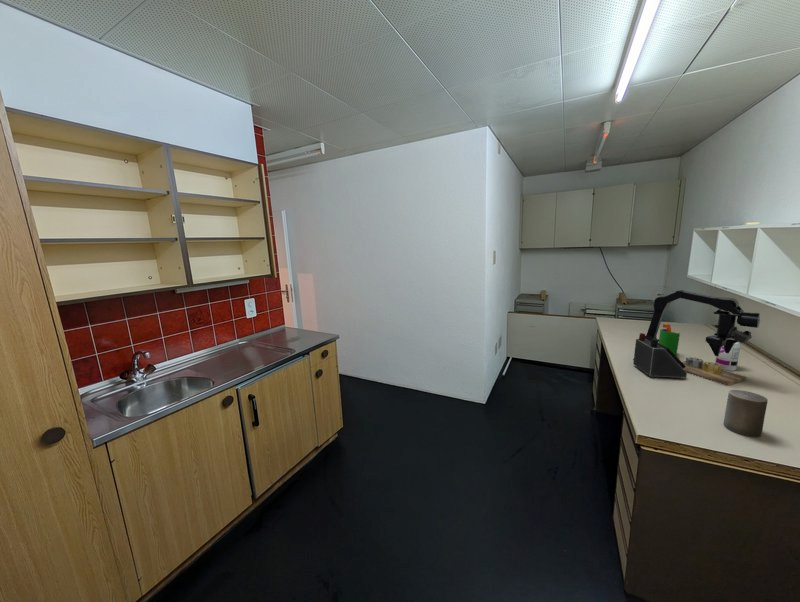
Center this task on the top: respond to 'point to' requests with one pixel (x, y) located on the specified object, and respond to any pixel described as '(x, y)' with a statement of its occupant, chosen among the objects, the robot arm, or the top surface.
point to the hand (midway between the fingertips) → (721, 354)
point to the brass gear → (712, 368)
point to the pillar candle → (745, 413)
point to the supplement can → (729, 358)
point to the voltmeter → (657, 359)
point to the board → (715, 375)
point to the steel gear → (694, 363)
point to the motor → (669, 338)
